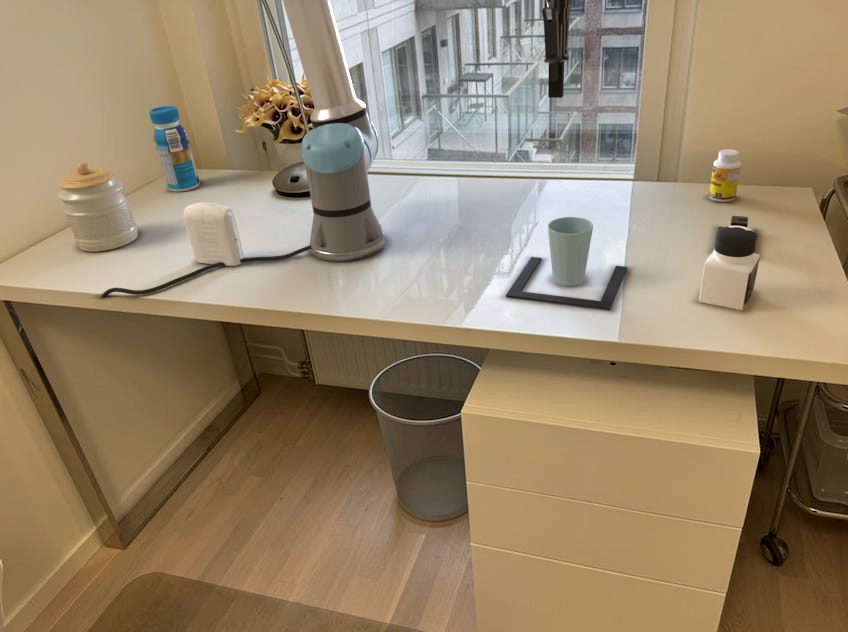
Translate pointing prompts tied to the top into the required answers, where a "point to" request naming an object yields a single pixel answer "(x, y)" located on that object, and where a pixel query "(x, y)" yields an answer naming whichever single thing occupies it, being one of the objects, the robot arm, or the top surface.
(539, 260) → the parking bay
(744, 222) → the build plate
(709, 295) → the medicine bottle
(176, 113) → the beverage bottle
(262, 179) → the top surface
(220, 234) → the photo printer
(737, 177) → the supplement bottle
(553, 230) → the cup
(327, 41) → the robot arm
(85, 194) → the jar
